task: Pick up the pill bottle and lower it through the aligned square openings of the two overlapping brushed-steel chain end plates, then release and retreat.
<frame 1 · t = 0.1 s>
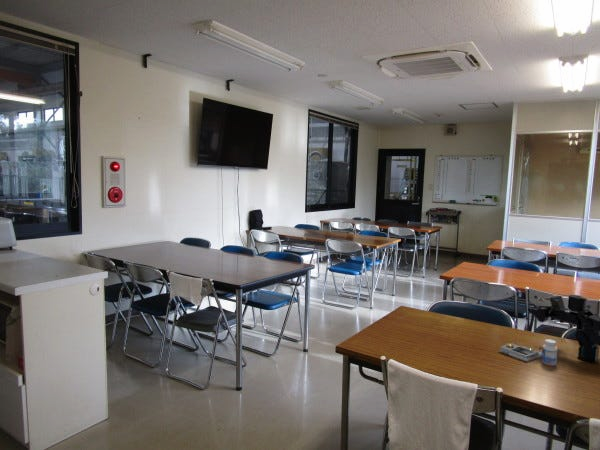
hand: (533, 308, 204), 17 cm above the table, tool horizontal, fingers open, 9 cm apart
pill bottle: (548, 363, 181), on the table
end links: (522, 356, 187), on the table
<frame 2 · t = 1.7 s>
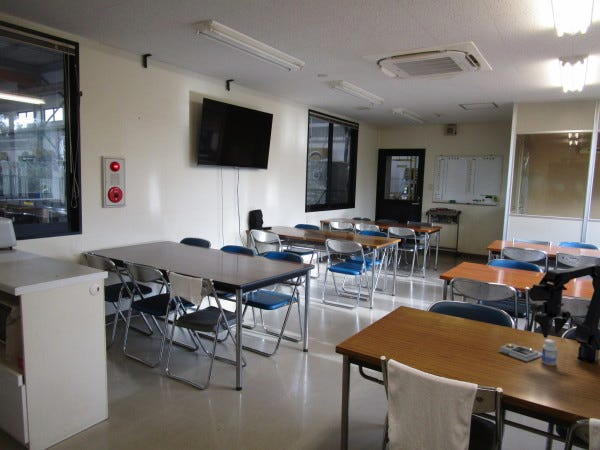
hand: (551, 335, 179), 12 cm above the table, tool pointing down, fingers open, 9 cm apart
nothing on the table moved.
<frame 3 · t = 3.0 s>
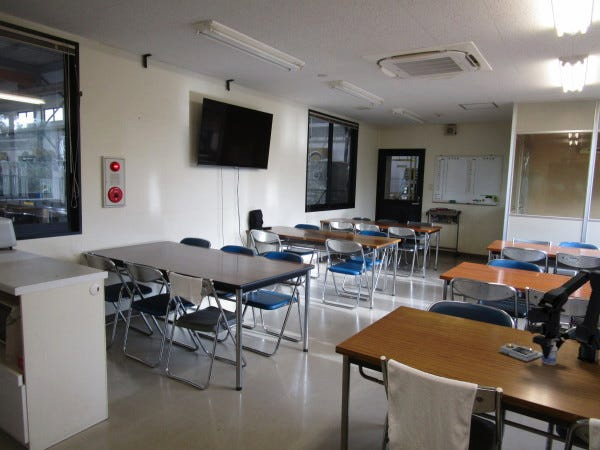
hand: (549, 357, 180), 3 cm above the table, tool pointing down, fingers closed on pill bottle, 5 cm apart
pill bottle: (548, 363, 181), on the table, touching gripper
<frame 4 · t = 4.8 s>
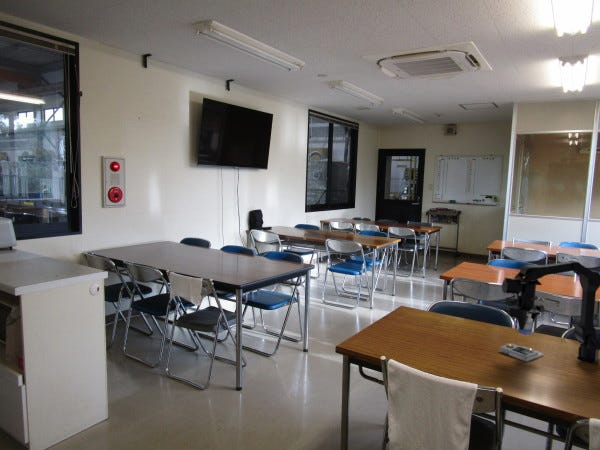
hand: (525, 328, 186), 13 cm above the table, tool pointing down, fingers closed on pill bottle, 5 cm apart
pill bottle: (524, 334, 186), point 10 cm above the table, touching gripper
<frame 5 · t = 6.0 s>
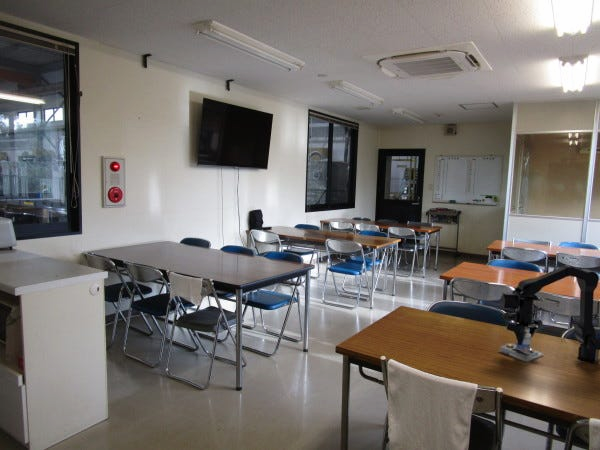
hand: (523, 343, 187), 6 cm above the table, tool pointing down, fingers closed on pill bottle, 5 cm apart
pill bottle: (523, 349, 187), point 3 cm above the table, touching gripper
when the fingers open (4 cm above the table, at t = 6.8 s): pill bottle drops 1 cm, resting in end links.
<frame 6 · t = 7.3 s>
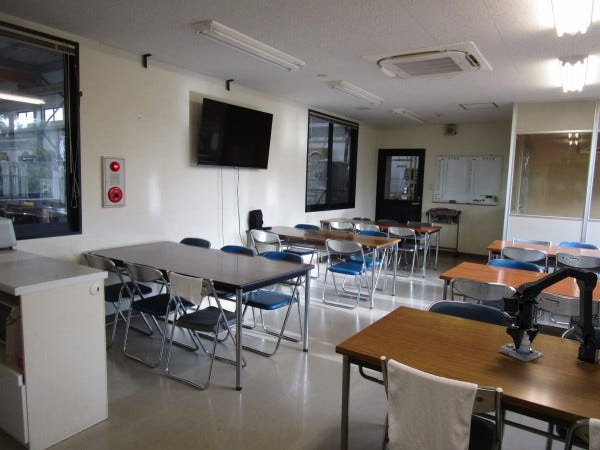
hand: (523, 347, 187), 4 cm above the table, tool pointing down, fingers open, 9 cm apart
pill bottle: (522, 356, 187), resting in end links
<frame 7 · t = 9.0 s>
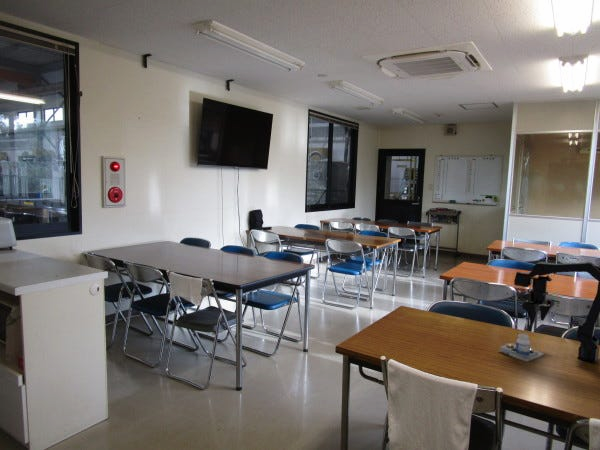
hand: (537, 321, 197), 12 cm above the table, tool pointing down, fingers open, 9 cm apart
nothing on the table moved.
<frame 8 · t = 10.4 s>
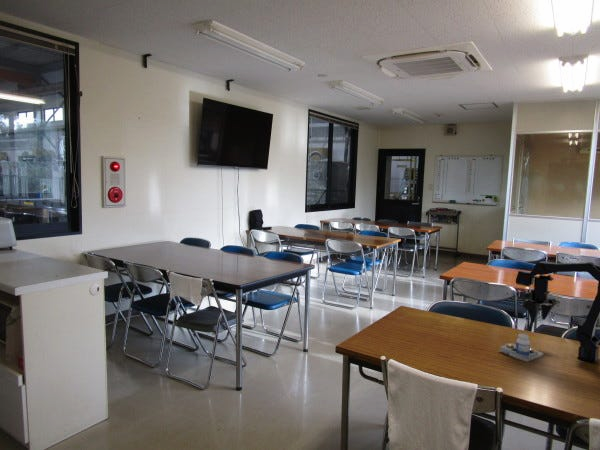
hand: (538, 320, 198), 13 cm above the table, tool pointing down, fingers open, 9 cm apart
nothing on the table moved.
at the end: pill bottle 0.1 cm off-centre on the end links, point 0.0 cm above the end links's base; pill bottle tilted 0°; the gripper is holding nothing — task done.
